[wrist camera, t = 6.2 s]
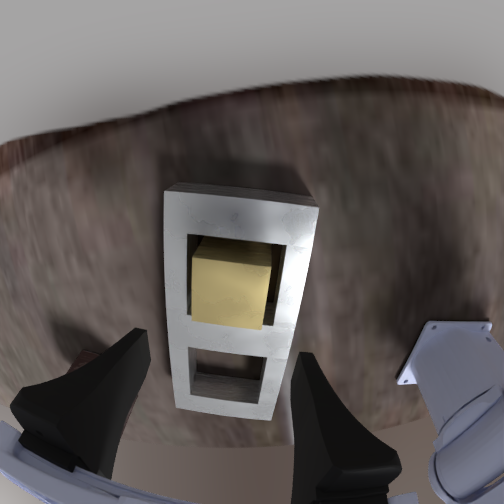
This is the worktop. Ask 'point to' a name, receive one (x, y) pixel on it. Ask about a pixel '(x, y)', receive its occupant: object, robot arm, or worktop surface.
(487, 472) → the robot arm
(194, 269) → the pale yellow wooden cube
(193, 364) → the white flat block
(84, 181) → the worktop surface
